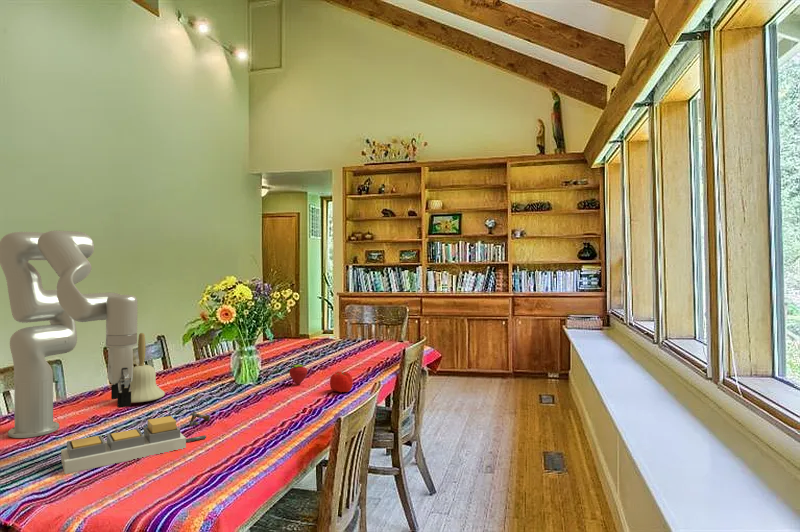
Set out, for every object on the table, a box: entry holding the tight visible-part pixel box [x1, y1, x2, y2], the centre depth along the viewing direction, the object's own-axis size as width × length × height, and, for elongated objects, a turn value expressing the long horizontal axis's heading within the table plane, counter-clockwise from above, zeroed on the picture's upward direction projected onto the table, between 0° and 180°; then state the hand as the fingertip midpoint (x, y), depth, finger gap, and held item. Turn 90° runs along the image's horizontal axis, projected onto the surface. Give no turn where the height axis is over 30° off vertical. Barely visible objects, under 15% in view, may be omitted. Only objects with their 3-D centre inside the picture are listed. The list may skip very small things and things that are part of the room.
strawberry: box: [288, 361, 308, 386], centre depth 215 cm, size 6×8×10 cm
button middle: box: [110, 428, 140, 442], centre depth 138 cm, size 6×6×2 cm
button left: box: [70, 435, 101, 449], centre depth 132 cm, size 6×6×2 cm
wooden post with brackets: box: [188, 410, 211, 427], centre depth 164 cm, size 2×8×4 cm, turn 159°
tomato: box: [329, 371, 354, 394], centre depth 205 cm, size 9×9×8 cm
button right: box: [147, 415, 177, 433], centre depth 143 cm, size 6×6×2 cm
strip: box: [60, 425, 207, 475], centre depth 140 cm, size 10×35×5 cm, turn 127°
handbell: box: [130, 332, 166, 404], centre depth 190 cm, size 15×15×25 cm
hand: (120, 402), depth 142 cm, fingers open, 9 cm apart
